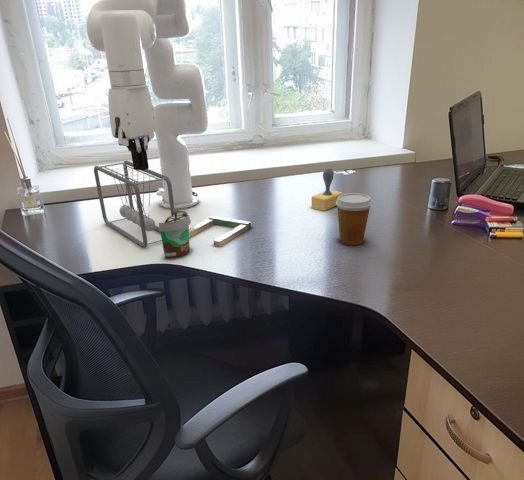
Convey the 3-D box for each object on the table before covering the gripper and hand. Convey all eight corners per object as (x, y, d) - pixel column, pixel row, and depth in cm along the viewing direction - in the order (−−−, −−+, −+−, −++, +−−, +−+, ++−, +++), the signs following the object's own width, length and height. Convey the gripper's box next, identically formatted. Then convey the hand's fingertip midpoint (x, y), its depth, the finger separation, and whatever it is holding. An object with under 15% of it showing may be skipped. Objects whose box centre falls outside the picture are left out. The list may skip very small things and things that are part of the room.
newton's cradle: (103, 223, 165) (92, 164, 156) (134, 216, 170) (124, 158, 161) (145, 250, 145) (135, 184, 135) (179, 241, 150) (171, 177, 140)
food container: (185, 262, 137) (181, 224, 131) (163, 260, 138) (157, 223, 132) (199, 244, 147) (196, 209, 141) (178, 243, 148) (174, 208, 143)
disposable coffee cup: (347, 250, 140) (349, 205, 134) (327, 239, 147) (329, 196, 141) (376, 243, 144) (379, 199, 137) (355, 232, 151) (358, 190, 145)
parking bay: (179, 239, 151) (178, 233, 150) (212, 221, 163) (211, 215, 163) (220, 246, 145) (219, 240, 144) (251, 227, 157) (250, 221, 157)
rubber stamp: (329, 200, 178) (330, 163, 172) (343, 203, 175) (345, 166, 168) (310, 207, 172) (311, 169, 166) (324, 211, 169) (326, 172, 162)
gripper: (137, 76, 118) (149, 161, 128) (89, 83, 108) (106, 175, 117) (164, 76, 115) (174, 163, 125) (116, 83, 104) (131, 178, 114)
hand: (141, 169), depth 121 cm, fingers closed
